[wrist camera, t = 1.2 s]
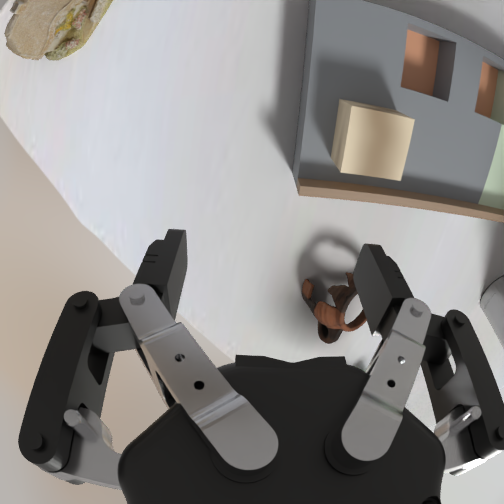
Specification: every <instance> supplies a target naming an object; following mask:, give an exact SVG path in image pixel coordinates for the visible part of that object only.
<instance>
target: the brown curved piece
mask: <svg viewBox="0 0 504 504" xmlns="http://www.w3.org/2000/svg"><path fill="white" fill-rule="evenodd" d="M346 275H347V278H348V285H349V287H347V286H345V285H339V286H331V287H330V288H329V289H328V292H329V293H330V294H331V295H332V298H333V300H334V302H335V305H336V307H334V306H331V305H329V304H327V303H326V302H322V301H319V302H318V303H315V302H314V301H312V299H311V295H312V291H313V288H314V285H313V284H312V283H310V282H309V280H308V279H306V280H305V281H304V283H303V287H302V296H303V299H304V301H305V302H306V303H307V305H308V306H309V308H310V310H311V311H312V313H313V314H314V316H315V317H316V319H317V320H318V334H319V337H320V339H321V340H322V341H323V342H325V343H327V344H330V343H333V342H335V341H337V340H338V338H339V337H340V335H341V333H342V331H343V330H344V331H348V332H349V331H354V330H356V329H358V328H359V327H360V326H362V325H363V324H364V323H365V322H366V321H367V319H366V316H365V313H364V310H362V312H361V313H360V314H359V316H358V317H356V318H355V319H354V320H353V321H352V322H350V323H349V324H345V322H344V316H345V311H346V309H347V307H348V305H349V303H350V302H351V300H352V299H353V298H354V297H355V295H357V294H358V292H357V289H356V287H355V284H354V279H353V275H354V274H352V273H348V272H346Z"/></svg>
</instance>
